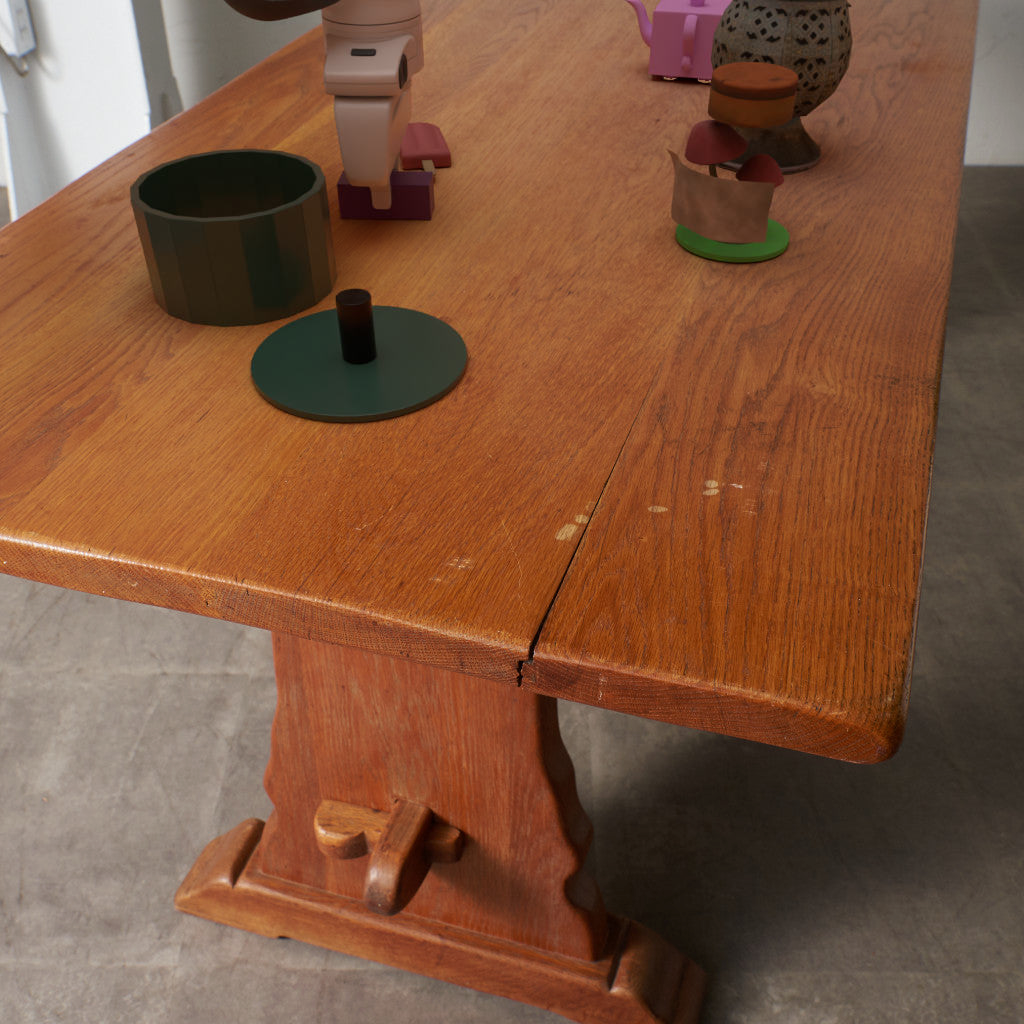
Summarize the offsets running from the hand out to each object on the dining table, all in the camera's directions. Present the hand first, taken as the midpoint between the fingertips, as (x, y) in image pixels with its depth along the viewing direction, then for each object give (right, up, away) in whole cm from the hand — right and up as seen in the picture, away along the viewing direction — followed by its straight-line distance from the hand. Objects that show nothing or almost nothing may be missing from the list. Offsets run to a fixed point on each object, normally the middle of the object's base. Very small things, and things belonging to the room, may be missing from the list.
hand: (386, 196), depth 100 cm
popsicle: (+3, +8, +13) cm, 15 cm away
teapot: (+36, +28, +37) cm, 59 cm away
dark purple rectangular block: (0, -1, +1) cm, 2 cm away
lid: (+1, -20, -23) cm, 30 cm away
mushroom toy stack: (+33, -5, -4) cm, 33 cm away
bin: (-11, -12, -12) cm, 20 cm away
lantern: (+41, +9, +14) cm, 44 cm away
